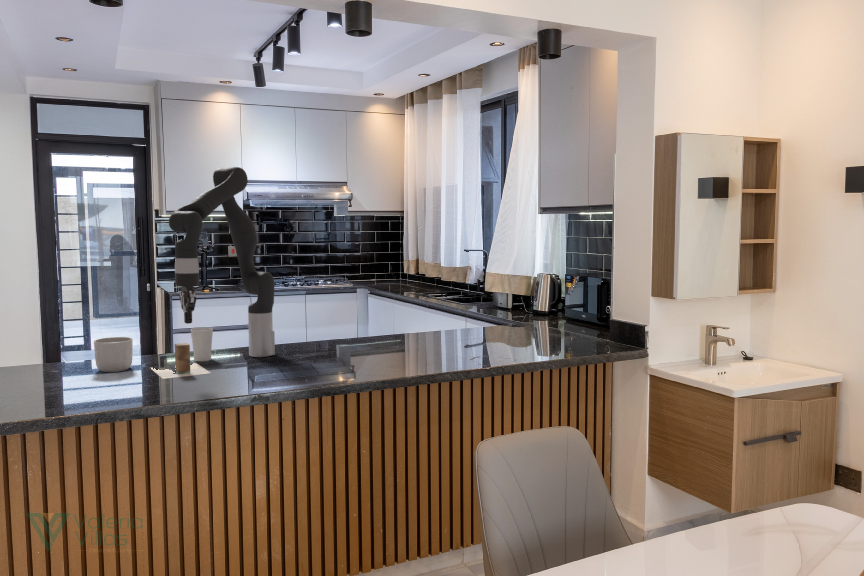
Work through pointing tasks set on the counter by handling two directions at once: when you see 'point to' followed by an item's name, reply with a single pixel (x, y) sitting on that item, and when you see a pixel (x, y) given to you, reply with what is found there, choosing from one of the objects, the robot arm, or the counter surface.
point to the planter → (113, 353)
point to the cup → (202, 343)
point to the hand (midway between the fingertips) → (188, 323)
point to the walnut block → (182, 358)
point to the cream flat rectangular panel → (194, 370)
